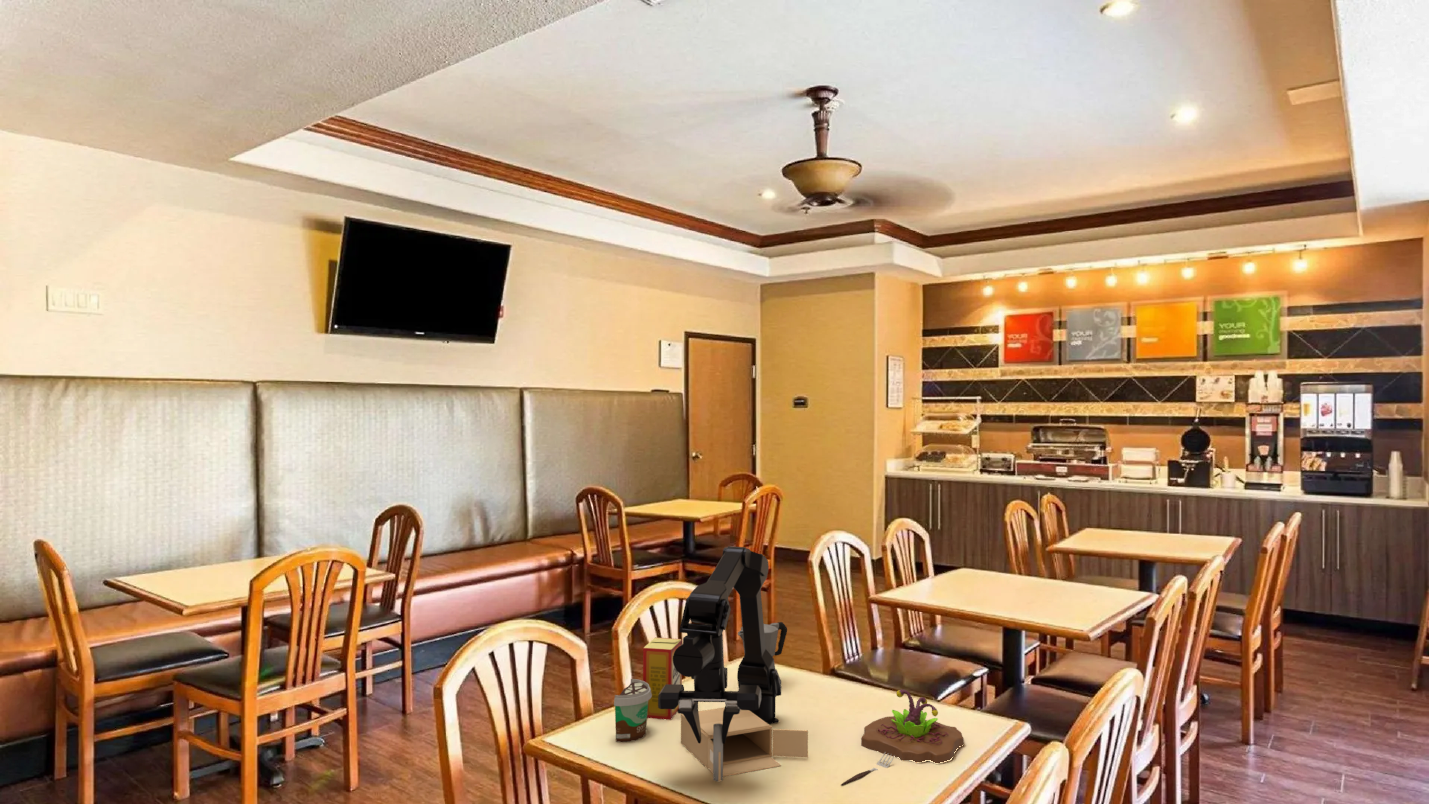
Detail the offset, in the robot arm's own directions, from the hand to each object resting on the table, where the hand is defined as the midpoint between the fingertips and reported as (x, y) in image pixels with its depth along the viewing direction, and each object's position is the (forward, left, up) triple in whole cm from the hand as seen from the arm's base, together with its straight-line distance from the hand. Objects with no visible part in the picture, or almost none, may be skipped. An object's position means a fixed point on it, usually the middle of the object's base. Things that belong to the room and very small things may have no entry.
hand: (711, 742), depth 157 cm
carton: (-12, -10, -7) cm, 17 cm away
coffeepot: (-34, -45, -7) cm, 56 cm away
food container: (+5, -28, -7) cm, 29 cm away
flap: (-1, -2, -7) cm, 7 cm away
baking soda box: (-5, -39, -7) cm, 40 cm away
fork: (-28, +8, -8) cm, 31 cm away
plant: (-46, -1, -8) cm, 47 cm away
